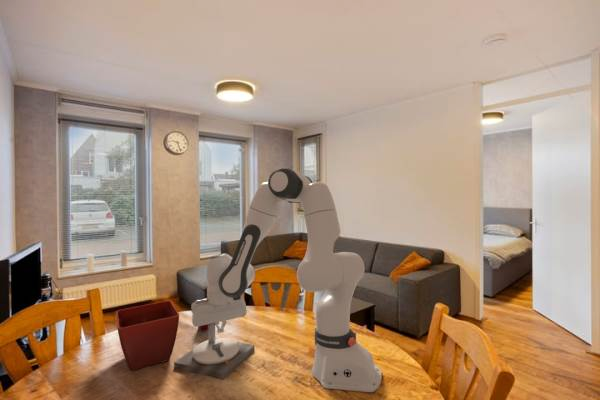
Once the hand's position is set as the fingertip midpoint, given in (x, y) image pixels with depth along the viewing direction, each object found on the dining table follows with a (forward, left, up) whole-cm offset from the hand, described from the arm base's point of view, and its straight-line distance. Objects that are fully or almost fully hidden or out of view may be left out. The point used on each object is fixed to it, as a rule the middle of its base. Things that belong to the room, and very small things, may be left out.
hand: (220, 332), depth 119 cm
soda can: (+17, -14, -7) cm, 23 cm away
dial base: (-3, +6, -7) cm, 10 cm away
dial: (-3, +6, -4) cm, 8 cm away
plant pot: (+21, +14, -7) cm, 27 cm away
